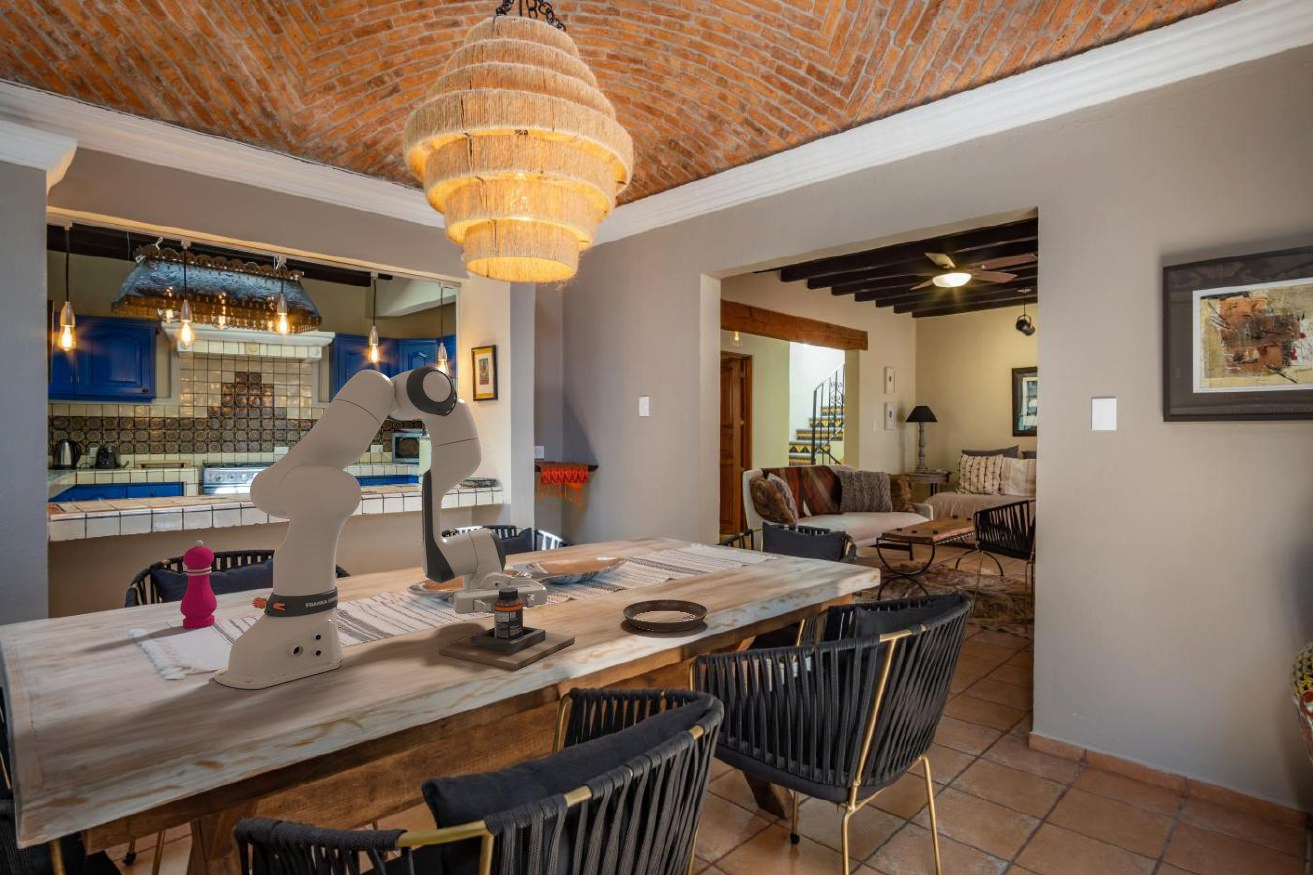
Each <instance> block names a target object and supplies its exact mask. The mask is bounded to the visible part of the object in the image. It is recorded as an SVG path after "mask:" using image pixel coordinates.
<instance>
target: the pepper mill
mask: <svg viewBox="0 0 1313 875" xmlns="http://www.w3.org/2000/svg"><path fill="white" fill-rule="evenodd" d="M214 555H215V554H214V551H213V550H212V549H211V548H209V547H207V546H204V542H203V540H201V539H198V540H195V541H194V546H193V547H192V548H191V547H190V548H189V549H188V550H186V551H185V553H184V555H183V563H184V565H185V566H186V567H187V568H186V569H185V570H186V573H185V575H187V577H188V580H187V581H188V583H187V587H186V591H185V593H184V595H183V597H182V600H181V602H180V608H179V611H180V613H181V614H182V615H183V616H184V618H183V619H182V628H183V627H184V628H183V629H187V628H195V629H202V628H201V627H203V628H208V627H211V626H213V625H214V624H215V619H216V618H215V615H214V614H213V613H214V612H215V610H216V609H217V607H218V604H217V603H218V601H217V598H216V597H217V596H216V595H215V593H214V591H213V589H212V587H211V582H210V574H211V573H212V566H211V565H212V563H213V562H214V561H215V560H214V559H215V556H214ZM212 624H213V625H212ZM210 625H211V626H210ZM207 626H208V627H207Z"/></svg>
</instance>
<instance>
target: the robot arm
mask: <svg viewBox="0 0 1313 875" xmlns="http://www.w3.org/2000/svg"><path fill="white" fill-rule="evenodd" d="M474 419H475V418H474V417H473V415H472V411H471V409H470V407H469V405H468V403H467V402H466V401H465V399H463V398H460V397H458V394H457V390H456V389H455V385H454V383H453V381H452V379H451V377H450V376H449V374H448V373H447V372H446V371H445V370H444V369H442V368H440V367H438V366H435V365H434V366H433V365H423V366H419V367H417V368H415V369H411V370H410V369H409V370H406V371H403V372H400V373H398V374H396V375H394V376H392V377H390V378H389V377H388V376H387V375H386V374H384V373H382V372H380V371H377V370H374V369H363V370H360V371H358V372H356V373H355V374H354V375H353V376H352V377H351V378H350V379H349V380H348V381H346V383H344V385H343V386H342V387H341V388H340V390H339V391H338V392H337V393H336V394H335V395H334V397H333V399H332V400H331V402H330V403H329V404H328V406H327V408H326V409H325V410H324V411H323V412H322V414H321V416H320V417H319V418H318V419H317V421H316V423H315V425H313V427H312V428H311V430H309V432H308V433H307V434H306V435H305V436H304V437H303V438H302V439H301V440H300V441H298V443H296V444H295V445H294V446H293V447H292V448H291V449H290V450H289V451H287V452H286V453H285V454H284V455H283V456H282V457H281V458H280V459H279V460H277V461H276V462H274V463H273V464H271V465H270V466H268V467H266V468H264V469H262V470H261V471H258V473H257V474H256V475H255V476H254V477H253V480H252V481H251V484H250V486H249V497H250V500H251V502H252V504H253V506H255V508H257V509H258V510H260V511H261V512H263V513H265V514H267V515H269V516H271V517H273V518H276V519H284V520H285V519H286V520H289V523H288V527H287V531H286V533H285V534H286V535H285V537H284V540H283V542H282V543H281V544H280V545H279V546H278V547H277V548H276V549H275V550H274V553H273V555H272V556H273V557H272V560H273V561H272V570H273V571H272V592H271V593H270V595H269V598H268V599H267V598H264V597H263V598H262V597H261V596H257V597H255V598H253V600H252V603H251V605H252V607H253V608H255V609H261V610H262V609H264V610H263V613H264V614H263V615H262V616H261V617H260V618H258V619H257V621H255V622H254V623H253V624H252V625H251V626H250V627H249V628H248V629H247V630H246V631H244V632H243V633H242V634H241V635H240V636H239V637H238V638H237V639H236V640H234V642H233V643H232V646H231V648H230V652H229V658H228V662H227V663H228V664H227V666H226V667H223V668H220V669H217V670H216V671H215V672H214V676H213V680H214V681H215V682H217V683H219V684H221V685H224V686H228V687H232V688H236V689H247V690H251V689H252V690H253V689H254V690H255V689H256V690H258V689H264V688H268V687H271V686H276V685H279V684H282V683H287V682H290V681H295V680H297V679H298V680H299V679H302V678H305V677H309V676H313V675H317V674H320V673H324V672H327V671H332V670H336V669H338V668H340V666H341V664H340V663H341V661H342V660H343V659H344V657H345V653H344V651H343V648H342V644H341V640H340V634H339V628H338V621H337V608H338V604H339V602H338V601H339V596H338V595H339V593H338V591H339V590H338V587H337V586H336V564H337V563H336V561H337V560H336V559H337V549H338V544H339V540H340V536H341V533H342V530H343V528H344V526H345V524H346V522H347V520H348V519H349V518H350V517H351V516H352V515H353V514H354V513H355V512H356V511H357V509H358V508H359V506H360V503H361V499H362V489H361V485H360V483H359V481H358V479H357V478H356V476H354V475H353V474H351V473H350V472H348V471H345V469H347V468H348V467H350V466H351V465H353V464H355V463H357V462H358V461H360V459H362V457H363V456H364V454H365V453H366V452H367V450H368V448H369V446H370V445H371V443H372V441H373V440H374V439H375V437H376V436H377V434H378V432H379V431H380V429H381V427H382V426H383V424H384V422H385V420H388V421H391V422H393V423H394V422H396V423H405V422H408V421H413V420H420V421H421V422H422V423H423V424H424V425H425V427H426V428H427V430H428V434H429V442H430V447H431V453H432V458H431V463H430V466H429V469H427V470H426V471H425V472H424V473H423V475H422V476H423V477H422V481H421V511H422V512H421V516H422V517H421V518H422V519H421V521H422V522H421V523H422V524H421V525H422V550H421V562H420V563H421V568H422V570H423V573H424V575H425V577H426V578H427V579H429V580H430V581H432V582H435V583H438V584H444V583H447V582H450V581H452V580H455V579H456V578H460V577H462V586H463V589H461V590H458V591H455V592H453V593H454V594H453V596H449V597H448V598H447V599H448V602H449V603H451V604H453V610H454V612H455V614H459V615H465V614H471V613H472V614H474V613H481V612H482V613H483V614H486V613H487V614H491V615H493V614H494V603H495V601H496V600H497V599H498V597H499V589H501V588H506V587H513V588H517V589H518V597H519V598H520V599H521V600H522V602H523V608H527V609H530V608H531V609H533V608H535V606H543V605H545V604H547V601H548V589H547V587H546V586H545V585H543V584H541V583H540V582H538V581H535V580H533V579H532V577H531V576H529V575H517V574H515V575H514V574H513V575H512V574H506V573H503V572H504V570H505V568H506V564H507V557H506V550H505V546H504V543H503V540H502V539H501V538H500V536H499V535H498V534H497V533H496V532H495V531H493V529H490V528H489V527H483V528H478V529H474V530H469V531H466V532H463V533H459V534H455V535H451V536H448V537H447V536H446V537H444V536H442V535H443V534H442V501H443V499H444V497H445V496H446V494H447V493H448V492H449V491H451V490H452V489H453V488H454V487H456V486H458V485H459V484H461V483H462V482H464V481H466V480H467V479H469V478H470V477H472V475H473V474H475V472H476V471H477V470H478V469H479V466H480V465H481V461H482V448H481V441H480V439H479V434H478V430H477V429H478V428H477V426H476V423H475V420H474Z"/></svg>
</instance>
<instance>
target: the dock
mask: <svg viewBox="0 0 1313 875" xmlns="http://www.w3.org/2000/svg"><path fill="white" fill-rule="evenodd" d="M494 630H495V627H492V628H489V629H486V630H484V631H482V632H478V633H476V634H473V635H471V636H468V637H465V638H463V639H461V640H458V641H455V642H452V643H449V644H447V645H444V646H442V647H439V648H438V654H439V655H440V656H447V657H449V658H450V657H451V658H456V659H459V660H460V659H461V660H466V661H471V662H475V663H480V664H485V665H489V666H494V667H499V668H504V669H510V670H514V671H517V670H519V669H521V668H523V667H526V666H528V665H529V664H533V663H534V662H536V661H538V660H540V659H543V658H544V657H547V656H549V655H552V654H554V653H556V652H557V650H558V651H560V650H562V649H564V648H566V647H568V646H570V645H572V644H574V642H575V641H576V640H575V639H576V637H575V636H571V635H566V634H559V633H554V632H548V631H546V630H547V629H541V628H536V627H528V626H524V625H523V636H522V637H520V638H517V639H515V640H512V641H510V640H505V639H499V638H495V634H494V633H495V631H494ZM559 649H560V650H559Z"/></svg>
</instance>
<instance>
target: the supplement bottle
mask: <svg viewBox="0 0 1313 875" xmlns="http://www.w3.org/2000/svg"><path fill="white" fill-rule="evenodd" d="M523 608H524V607H523V602H522V600H521V599H520V598H519V597H518V589H517V588H513V587H506V588H501V589H499V597H498V599H497V600H496V601H495V603H494V615H493V618H494V619H493V620H494V622H493V623H494V625H493V626H494V627H495V630H494V631H495V633H494V634H495V638H499V639H505V640H510V641H512V640H515V639H517V638H520V637H522V636H523V626H524V609H523ZM494 627H493V628H494Z"/></svg>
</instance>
